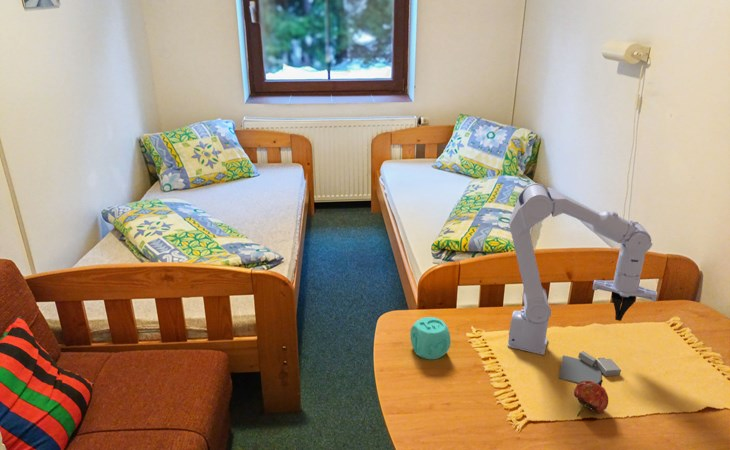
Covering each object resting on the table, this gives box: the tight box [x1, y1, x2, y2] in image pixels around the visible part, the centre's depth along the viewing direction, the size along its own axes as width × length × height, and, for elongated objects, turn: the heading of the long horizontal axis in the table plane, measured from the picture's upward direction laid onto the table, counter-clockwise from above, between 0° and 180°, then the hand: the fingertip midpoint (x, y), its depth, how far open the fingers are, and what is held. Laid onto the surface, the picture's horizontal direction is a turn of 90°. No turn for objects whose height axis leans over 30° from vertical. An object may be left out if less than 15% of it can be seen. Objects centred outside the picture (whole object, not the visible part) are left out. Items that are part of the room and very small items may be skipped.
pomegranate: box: [573, 379, 609, 417], centre depth 125 cm, size 7×7×10 cm
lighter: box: [577, 350, 622, 377], centre depth 140 cm, size 7×2×8 cm
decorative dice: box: [410, 316, 452, 360], centre depth 145 cm, size 8×8×8 cm
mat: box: [558, 354, 602, 384], centre depth 139 cm, size 10×10×1 cm
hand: (618, 318), depth 142 cm, fingers closed
